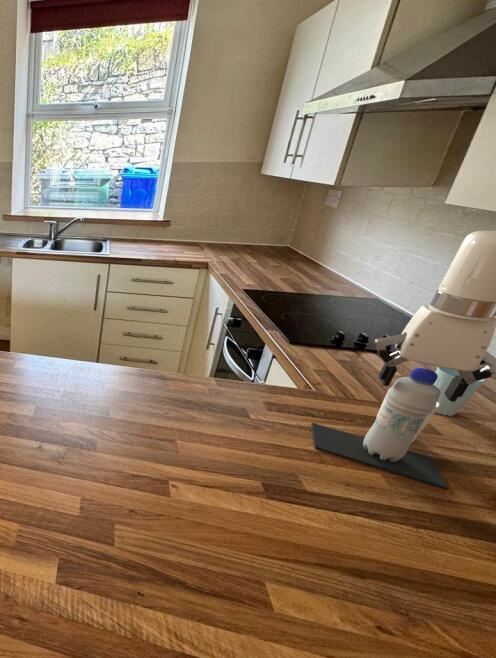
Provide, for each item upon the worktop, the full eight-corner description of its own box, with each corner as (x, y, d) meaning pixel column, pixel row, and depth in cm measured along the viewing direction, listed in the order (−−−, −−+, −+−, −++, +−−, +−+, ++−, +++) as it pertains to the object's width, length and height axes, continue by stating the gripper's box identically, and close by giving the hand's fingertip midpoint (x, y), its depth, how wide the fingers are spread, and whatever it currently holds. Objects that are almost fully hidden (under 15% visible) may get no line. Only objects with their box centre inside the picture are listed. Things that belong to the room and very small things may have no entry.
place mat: (431, 458, 83) (432, 457, 82) (447, 489, 75) (448, 487, 75) (311, 424, 92) (312, 422, 92) (314, 448, 85) (315, 446, 85)
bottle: (357, 438, 87) (399, 357, 79) (398, 451, 84) (448, 368, 75) (360, 455, 82) (406, 371, 74) (405, 470, 79) (458, 383, 70)
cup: (471, 421, 95) (495, 383, 90) (432, 416, 96) (454, 378, 92) (445, 403, 101) (467, 367, 97) (409, 399, 103) (429, 363, 99)
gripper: (528, 309, 68) (473, 395, 75) (391, 290, 76) (353, 369, 83) (552, 324, 62) (489, 415, 69) (400, 301, 70) (359, 384, 78)
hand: (415, 390), depth 76 cm, fingers open, 8 cm apart
